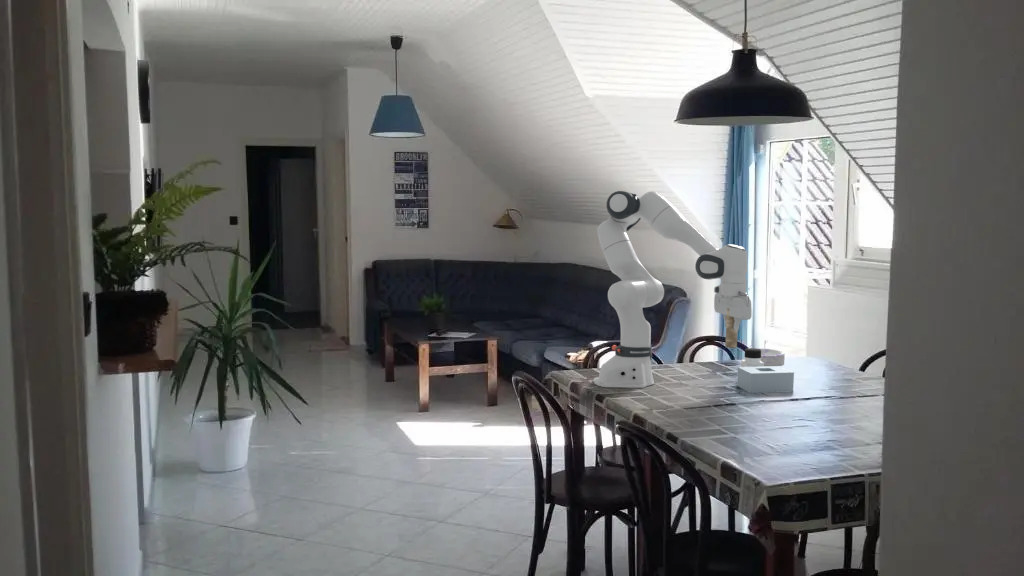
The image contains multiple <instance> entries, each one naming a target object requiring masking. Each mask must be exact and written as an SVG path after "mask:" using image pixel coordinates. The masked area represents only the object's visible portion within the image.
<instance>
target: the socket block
mask: <svg viewBox="0 0 1024 576" xmlns="http://www.w3.org/2000/svg"><path fill="white" fill-rule="evenodd" d="M794 378H795V372H794V371H792V370H789V369H788V368H785V367H782V366H762V367H741V366H737V379H736V383H737V385H736V386H737V387H739V388H740V389H742V390H744V391H745V392H748V393H751V394H756V393H757V394H758V393H759V394H761V393H762V394H763V393H764V394H765V393H766V394H767V393H790V392H791V393H792V392H794V385H795V384H794V382H795V381H794V380H795V379H794Z"/></svg>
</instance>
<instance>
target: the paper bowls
mask: <svg viewBox="0 0 1024 576" xmlns="http://www.w3.org/2000/svg"><path fill="white" fill-rule="evenodd" d="M757 349H760V350H761V360H760V361H762V362H763V363H764V366H780V367H782V366H785V355H786V353H785V352H784V351H783V350H780V349H773V348H772V349H771V348H757Z"/></svg>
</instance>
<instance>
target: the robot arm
mask: <svg viewBox="0 0 1024 576" xmlns="http://www.w3.org/2000/svg"><path fill="white" fill-rule="evenodd" d="M606 210H607V213H608V214H609V217H608V219H606V220H604V221H602V222H601V223H600V224H599V225H598V227H597V230H596V231H597V237H598V240H599V241H598V242H599V246H600V248H601V251H602V253H603V256H604V258H605V260H606V263H607V265H608V268H609V270H610V271H611V273H612V274H614V275H616V276H617V277H618V278H619V279H620V281H617V282H615V283H612V284H611V286H609V289H608V291H607V301H608V303H609V304H610V305H611V307H613V309H614V310H615V311H616V313H617V316H618V320H619V325H620V344H619V345H618V346H617V345H616V344H613V345H612V346H611V349H612V351H614V353H615V355H614V356H612V357H611V358H610V359H608V360H607V361H605V362H604V363H602V365H601V367H600V370H599V375H598V377H597V376H596V377H594V378H593V384H595V385H596V386H597V387H598V386H599V387H602V388H631V389H632V388H635V389H636V388H637V389H638V388H639V389H643V388H646V387H648V386H652V385H654V384H655V381H654V376H653V371H652V363H651V362H652V357H653V348H652V344H651V343H652V342H651V339H652V337H651V335H652V334H651V333H652V327H651V324H650V322H649V321H648V320H646V317H645V315H644V310H643V308H649V307H653V306H655V305H657V304H659V303H661V302H662V300H663V299H664V297H665V288H664V286H663V284H662V282H661V281H659V280H658V279H656V278H655V277H654V276H652V275H651V274H650V272H649V271H648V270H647V269H646V268H645V267H644V265H643V264H642V263H641V261H640V260H639V257H638V255H637V253H636V251H635V249H634V246H633V244H632V242H631V239H630V238H629V235H628V232H629V230H630V229H632V228H633V227H635V226H636V225H637V224H638V223H639V222H640V221H641V219H642V220H644V221H645V222H646V223H647V224H648V225H649V226H650V227H651V228H652V230H654V231H655V232H656V233H657V234H659V235H660V236H662V237H663V238H665V239H668V240H673V241H677V242H680V243H683V244H685V245H687V246H688V247H690V248H691V249H692V250H693V251H694V252H695V253H696V254H697V255H698V258H697V259H696V262H695V266H694V267H695V271H696V274H697V275H698V276H699V277H700V278H701V279H705V280H717V279H720V284H719V285H716V286H715V287H714V288H713V291H714V299H713V301H714V303H713V304H714V305H713V308H714V312H715V313H717V314H721V315H723V318H722V319H723V321H724V327H725V328H726V319H727V308H728V309H729V315H730V316H731V317H734V320H735V323H734V325H733V330H738V331H739V330H740V324H741V323H742V320H743V321H744V320H746V321H747V320H751V318H752V316H753V315H752V314H753V313H752V301H751V299H750V296H749V294H748V293H747V283H748V282H747V272H748V252H747V249H745V247H743V246H740V245H738V244H729V243H728V244H725V245H724V246H722V247H721V248H719V247H716V246H715V245H714V244H713V243H712V242H711V241H710V240H708V239H707V237H705V236H704V235H703V234H702V233H701V232H700V231H699V230H697V229H696V228H695V227H694V226H693V225H692V224H691V223H690V222H689V221H688V220H687V219H686V217H684V215H683V214H682V213H681V212H680V211H679V210H678V209H677V208H676V207H675V206H674V205H673V204H672V203H671V202H670V201H668V200H667V199H666V198H665V196H662V195H661V194H659V192H656V191H653V190H652V191H648V192H646V193H644V194H643V195H641V196H640V197H639V195H638V194H636V193H632V192H629V191H626V190H625V191H624V190H617V191H614V192H613V193H611V194H610V195H609V196H608V198H607V200H606Z"/></svg>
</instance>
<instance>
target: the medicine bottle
mask: <svg viewBox="0 0 1024 576" xmlns="http://www.w3.org/2000/svg"><path fill="white" fill-rule="evenodd" d="M760 360H761V350H760V349H757V348H756V347H748V348H745V349H744V359H741V360H740V367H762V366H764V363H763V362H762V361H760Z"/></svg>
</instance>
